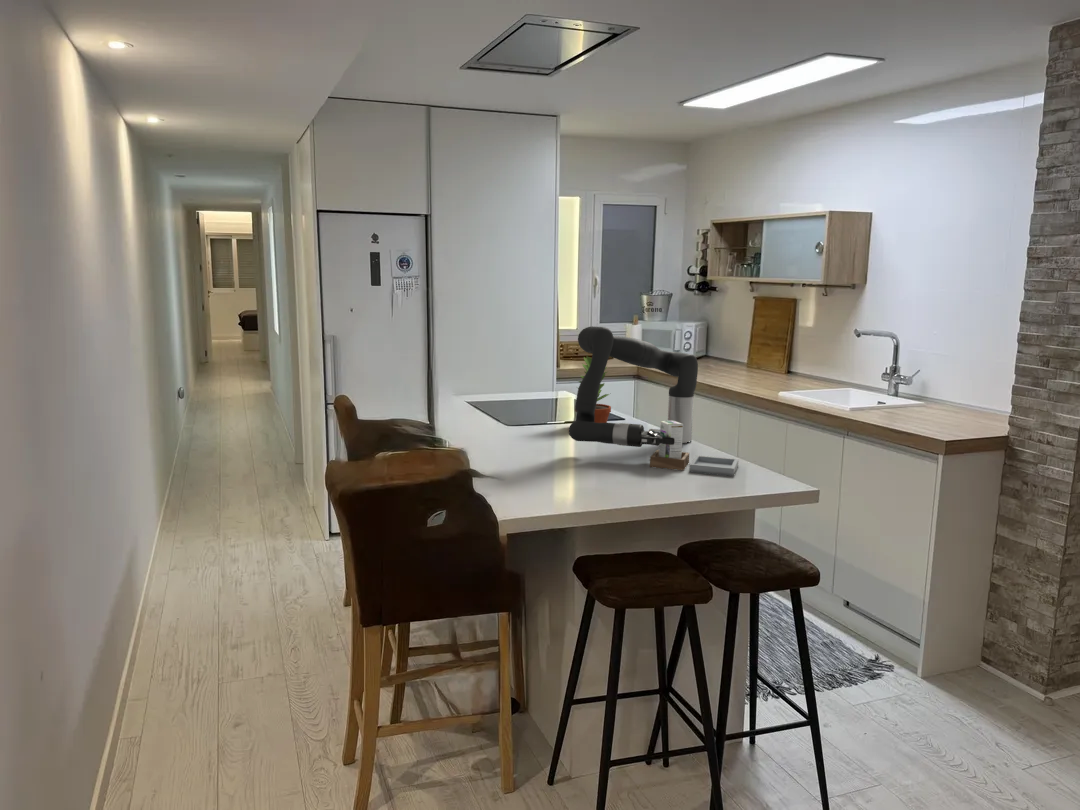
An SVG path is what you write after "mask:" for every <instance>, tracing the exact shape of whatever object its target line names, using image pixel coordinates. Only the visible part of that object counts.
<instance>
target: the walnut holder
mask: <svg viewBox="0 0 1080 810" xmlns="http://www.w3.org/2000/svg"><path fill="white" fill-rule="evenodd" d="M649 459H650V460H649V467H650V468H653V467H656V468H655V469H663V468H667V469H666V470H674V469H677V470H676V471H684V470H685V469H686V468H687V466H688V465H689V464H690V452H686V451H682V455H681V459H677V458H666V457H659V449H656V450H655V451H654V452H653V453H652V454H651V456H650V457H649ZM688 463H689V464H688ZM685 467H686V468H685Z"/></svg>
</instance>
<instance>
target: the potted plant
mask: <svg viewBox="0 0 1080 810" xmlns="http://www.w3.org/2000/svg"><path fill="white" fill-rule="evenodd" d="M583 360H584V362H585V364H583V363H582V366H583V368H584V369H585V370H584V375H580V378H581V379H582V380H583V378H584V376H585V375H586V373H587V371H588V369H589V367H590V364H591V360H592V357H590V356H588V355H587V354H586V357H585V356H583ZM607 368H608V366H607V365H606V367H605V370H606V369H607ZM607 373H608V371H604V373H603V376H602V380H601V382H602V381H603V380H604V378H605V376H606V374H607ZM582 380H577V382H578V383H581V381H582ZM604 386H605V382H603V383H600V387H599V392H598V397H597V402H598V401H600V400H603V399H604V398H606V397H608V396H610V393H608V394H607V393H605V394H603V395H600V394H601V392H602V388H603V387H604ZM577 389H579V387H577ZM574 412H576V410H575V409H574ZM611 412H612V406H611V405H608V404H603V403H596V408H595V422H596V423H608V419H609V416H610V413H611ZM576 413H577V412H576Z"/></svg>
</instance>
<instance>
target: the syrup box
mask: <svg viewBox="0 0 1080 810" xmlns="http://www.w3.org/2000/svg"><path fill="white" fill-rule="evenodd" d="M659 430H660V436H662V437H671V438H674V439H675V442H674V445H669V444H663V443H662V444H661V445H660V444H659V445H658V450H659V457H666V458H677V459H681V455H682V452H683V451H682V450H683V443H682V438H683V424H681V423H679V422H676V421H668V420H662V421H660V427H659Z"/></svg>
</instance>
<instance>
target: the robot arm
mask: <svg viewBox="0 0 1080 810" xmlns="http://www.w3.org/2000/svg"><path fill="white" fill-rule="evenodd" d="M613 334H614V333H613V331H612V330H611V329H610V328H608V327H606V326H588V327H584V328H583V329H582V330H581V331H580V332H579V334H578V336H577V342H578V345H579V347H580V348H581V349H582V350H583V351H584V352H586V353H588V354H592V356H591V358H592V360H591V364H590V367H589V369H588V371H587V370H586V371H587V373H586V374H584V375H583V376H584V378H583V379H582V380H580V381H581V383H580V382H579V383H580V384H579V386H578V388H579V389H578V388H577V389H578V390H577V394H576V399H575V406H574V411H575V410H576V414H575V416H576V417H575V421H573V422H572V423H570V425H569V427H568V434H569V436H570V438H571V439H572V440H574V441H576V442H586V443H587V442H591V443H593V442H594V443H596V442H597V443H602V444H609V445H617V446H623V447H636V448H641V447H642V446H643V445H651V446H657V447H659V444H660V445H661V444H662V443H663V444H669V445H674V442H675V439H674V438H671V437H662V436H660V429H659V428H658V429H656V428H654V429H653V428H649V429H648V430H645V427H644V425H643V424H639V423H637V424H636V423H626V422H624V423H623V422H620V423H619V422H618V423H617V422H616V423H614V422H607V423H596V422H595V408H596V404H598V403H597V402H598V401H597V397H598V392H599V387H600V384H602V381H603V380H602V376H603V373H604V372H605V371H606V369H605V368H606V367H607V364H608V361H609V357H611V358H612V359H613V358H614V359H616V360H617V361H618V360H619V361H620V362H625V363H627V364H629V365H633V366H637V367H640V368H646V369H655V370H658V371H661V372H663V373H666V375H667V374H668V375H670V376H672V377H674V378H677V382H676V384H675V385H673V386H671V387H670V388H669V389H668V402H667V403H668V404H667V408H668V409H667V421H676V422H679V423H681V424H683V438H682V444H686V443H687V442H689V441H691V442H692V438H693V435H692V434H693V419H694V415H693V414H694V395H695V391H696V388H697V382H698V381H697V380H698V372H699V364H698V363H699V362H698V359H697V357H696V355H694V354H692V353H686V352H678V351H668V350H664V349H660V348H659V347H657V346H656V345H654V344H653V343H651V342H648V341H646V340H642V339H638V338H633V337H627V336H617V335H613ZM601 380H602V381H601ZM598 398H599V397H598ZM689 443H690V442H689ZM687 444H688V443H687Z"/></svg>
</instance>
